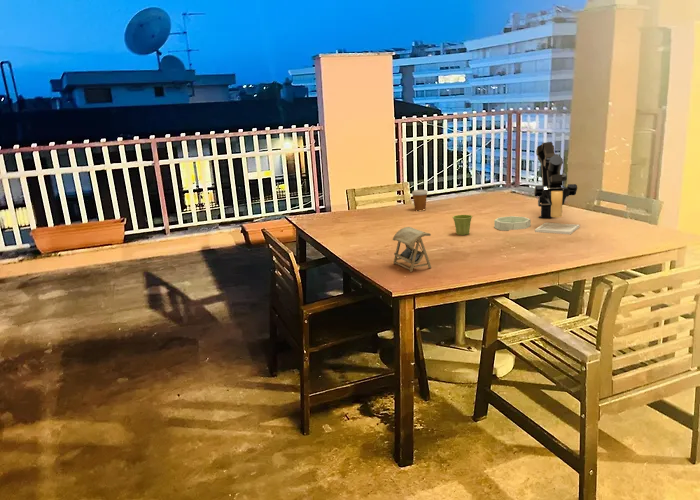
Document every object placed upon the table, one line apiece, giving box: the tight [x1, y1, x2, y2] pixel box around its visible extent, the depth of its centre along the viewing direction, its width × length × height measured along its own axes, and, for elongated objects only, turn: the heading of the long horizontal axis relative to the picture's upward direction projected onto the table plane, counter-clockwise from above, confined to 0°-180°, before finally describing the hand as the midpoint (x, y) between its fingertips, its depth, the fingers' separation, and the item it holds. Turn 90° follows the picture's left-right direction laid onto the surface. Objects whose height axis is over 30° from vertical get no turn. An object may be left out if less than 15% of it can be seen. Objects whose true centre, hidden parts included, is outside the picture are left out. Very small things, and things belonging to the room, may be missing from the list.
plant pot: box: [452, 214, 473, 236], centre depth 261 cm, size 9×9×9 cm
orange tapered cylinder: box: [551, 190, 563, 218], centre depth 254 cm, size 5×5×12 cm
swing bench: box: [392, 226, 432, 273], centre depth 213 cm, size 15×10×15 cm, turn 24°
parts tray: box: [534, 222, 580, 235], centre depth 255 cm, size 16×16×2 cm
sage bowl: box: [494, 215, 532, 232], centre depth 268 cm, size 16×16×4 cm
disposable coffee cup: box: [411, 189, 429, 211], centre depth 329 cm, size 10×10×12 cm
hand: (557, 204), depth 253 cm, fingers closed on orange tapered cylinder, 5 cm apart
